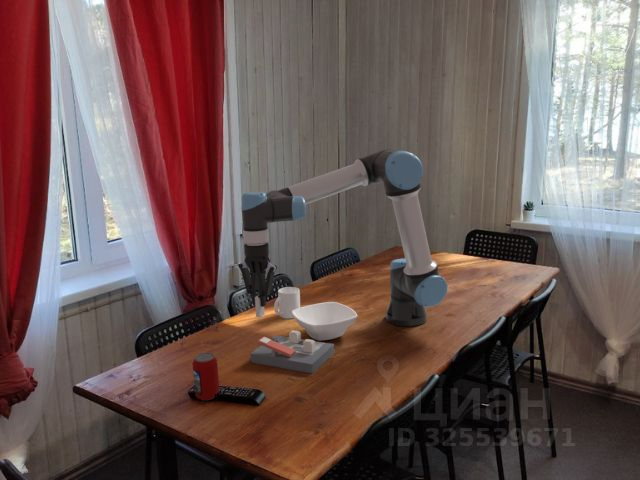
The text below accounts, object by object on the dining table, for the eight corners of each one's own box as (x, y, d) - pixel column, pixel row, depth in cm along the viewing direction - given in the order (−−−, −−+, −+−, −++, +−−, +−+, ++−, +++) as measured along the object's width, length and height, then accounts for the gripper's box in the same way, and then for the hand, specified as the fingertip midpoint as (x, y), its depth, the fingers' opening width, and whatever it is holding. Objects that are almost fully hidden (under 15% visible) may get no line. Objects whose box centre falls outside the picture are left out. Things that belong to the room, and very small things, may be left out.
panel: (334, 352, 185) (333, 339, 184) (312, 373, 171) (312, 359, 170) (275, 343, 195) (275, 331, 194) (250, 362, 181) (249, 349, 180)
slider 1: (301, 340, 188) (300, 331, 187) (297, 343, 186) (297, 333, 185) (293, 339, 189) (292, 329, 188) (289, 342, 187) (289, 332, 186)
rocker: (295, 352, 178) (296, 349, 178) (290, 357, 175) (290, 354, 175) (262, 339, 182) (263, 336, 182) (257, 343, 179) (257, 340, 179)
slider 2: (315, 349, 180) (314, 339, 179) (311, 352, 178) (311, 342, 177) (306, 348, 181) (306, 338, 180) (303, 351, 179) (302, 341, 178)
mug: (282, 323, 212) (281, 297, 210) (267, 318, 218) (266, 293, 216) (305, 314, 221) (303, 289, 219) (290, 310, 226) (289, 285, 224)
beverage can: (197, 391, 163) (193, 352, 160) (220, 389, 164) (217, 350, 161) (194, 402, 156) (190, 362, 154) (218, 401, 157) (215, 360, 154)
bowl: (312, 352, 186) (310, 328, 184) (286, 332, 204) (284, 310, 202) (365, 339, 195) (365, 315, 193) (336, 321, 213) (335, 299, 211)
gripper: (280, 241, 174) (284, 314, 179) (244, 238, 180) (249, 309, 185) (268, 247, 168) (272, 322, 173) (231, 243, 173) (236, 317, 178)
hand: (260, 315), depth 179 cm, fingers closed
